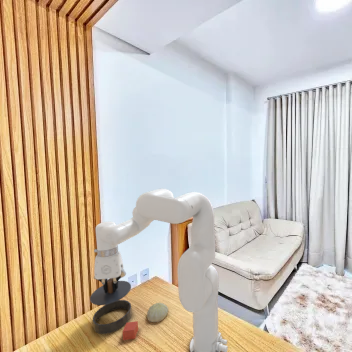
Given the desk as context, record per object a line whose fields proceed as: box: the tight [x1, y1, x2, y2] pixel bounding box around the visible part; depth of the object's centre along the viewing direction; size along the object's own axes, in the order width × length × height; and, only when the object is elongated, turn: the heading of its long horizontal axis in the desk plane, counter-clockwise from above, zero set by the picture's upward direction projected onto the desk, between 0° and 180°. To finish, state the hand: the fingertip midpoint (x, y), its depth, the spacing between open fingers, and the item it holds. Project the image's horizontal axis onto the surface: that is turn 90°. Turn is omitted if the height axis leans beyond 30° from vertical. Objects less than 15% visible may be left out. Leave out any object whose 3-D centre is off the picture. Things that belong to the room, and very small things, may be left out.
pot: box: [92, 299, 133, 335], centre depth 92 cm, size 15×15×4 cm
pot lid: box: [89, 278, 132, 306], centre depth 91 cm, size 15×15×7 cm
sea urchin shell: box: [146, 302, 169, 323], centre depth 94 cm, size 9×8×8 cm
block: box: [122, 320, 139, 341], centre depth 84 cm, size 4×4×4 cm
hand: (111, 290), depth 91 cm, fingers closed on pot lid, 2 cm apart
